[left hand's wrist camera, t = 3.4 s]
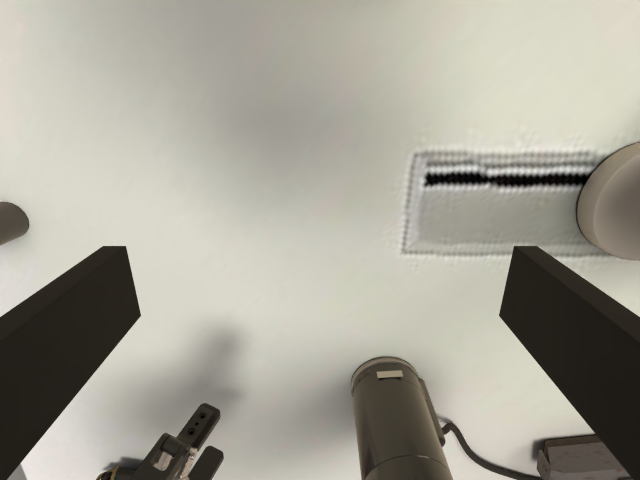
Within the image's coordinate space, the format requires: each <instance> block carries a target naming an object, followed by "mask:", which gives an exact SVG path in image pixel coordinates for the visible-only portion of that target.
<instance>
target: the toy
mask: <svg viewBox="0 0 640 480" xmlns="http://www.w3.org/2000/svg"><path fill="white" fill-rule="evenodd" d="M537 470H538V472H539V474H540V475H541V477H542V479H543V480H633V479H632V478H631V476H630V475H629V474H628V473H627V471H626V470H625V469H624V468H623V467H622V465H621V464H620V463H619V462H618V460H617V459H616V458H615V457H614V456H613V454H612V453H611V452H610V451H609V449H608V448H607V447H606V446H605V445H604V443H603V442H602V441H601V440H600V438H599V437H598V436H597V435H594V436H584V437H574V438H564V439H554V440H547V441H546V442H545V447H544V453H543V452H542V450H539V454H538V462H537Z"/></svg>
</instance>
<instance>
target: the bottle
mask: <svg viewBox="0 0 640 480" xmlns="http://www.w3.org/2000/svg"><path fill="white" fill-rule="evenodd" d="M28 227H29V222H28V219H27V216H26V215H25V213H24V212H23V211H22V210H21V209H20V208H19V207H17V206H16V205H14V204H11V203H7V202H0V245H2V244H4V243H7V242H9V241H11V240H13V239H15V238H17V237H19V236H22V235H23V234H25V233H26V231H27V230H28Z"/></svg>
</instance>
